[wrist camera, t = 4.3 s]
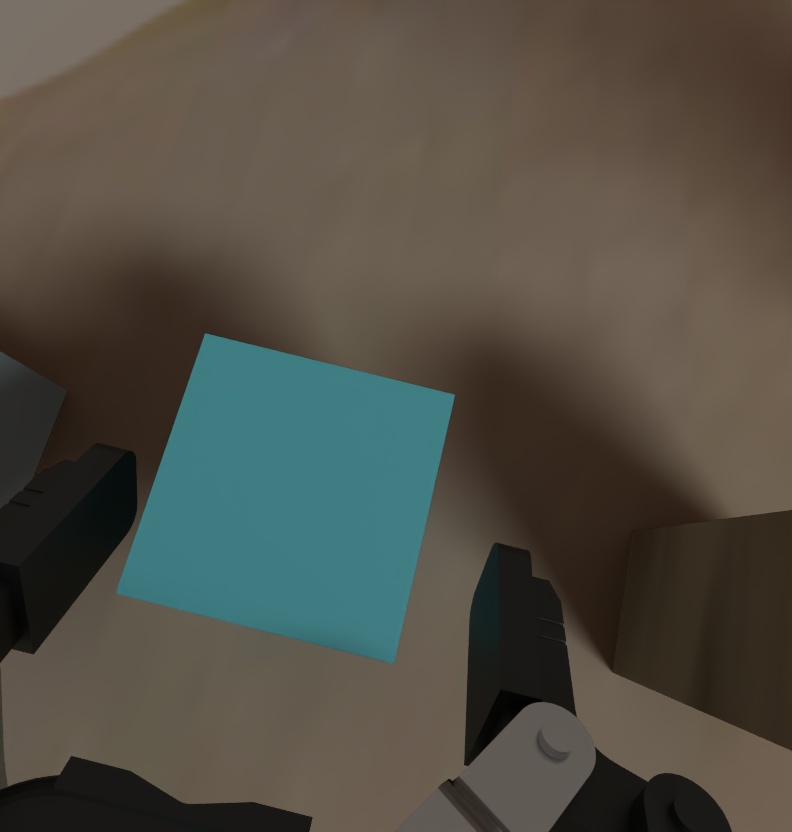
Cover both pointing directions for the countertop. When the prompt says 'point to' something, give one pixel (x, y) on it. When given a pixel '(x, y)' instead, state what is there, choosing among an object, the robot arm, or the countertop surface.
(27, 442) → the charcoal block
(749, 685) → the walnut block
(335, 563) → the teal block
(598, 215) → the countertop surface
